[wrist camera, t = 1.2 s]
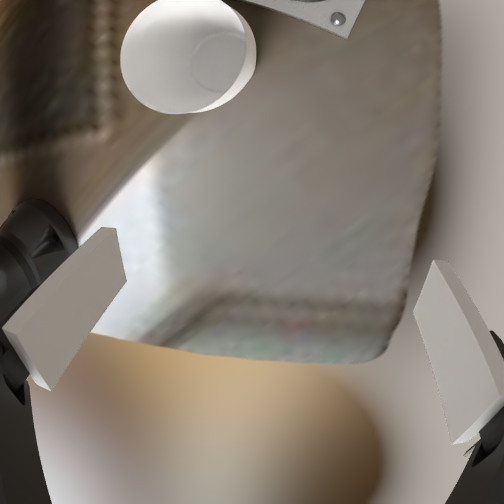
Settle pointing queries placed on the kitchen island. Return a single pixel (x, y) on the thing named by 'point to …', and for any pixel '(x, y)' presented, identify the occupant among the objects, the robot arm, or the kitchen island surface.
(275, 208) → the kitchen island surface
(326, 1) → the flange
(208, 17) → the cup
